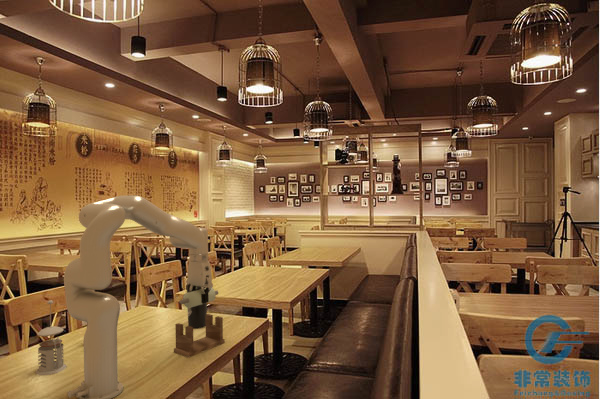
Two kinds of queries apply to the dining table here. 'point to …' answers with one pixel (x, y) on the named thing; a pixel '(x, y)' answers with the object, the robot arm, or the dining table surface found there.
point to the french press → (50, 351)
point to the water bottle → (197, 313)
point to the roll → (196, 298)
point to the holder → (191, 347)
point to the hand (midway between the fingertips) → (199, 301)
